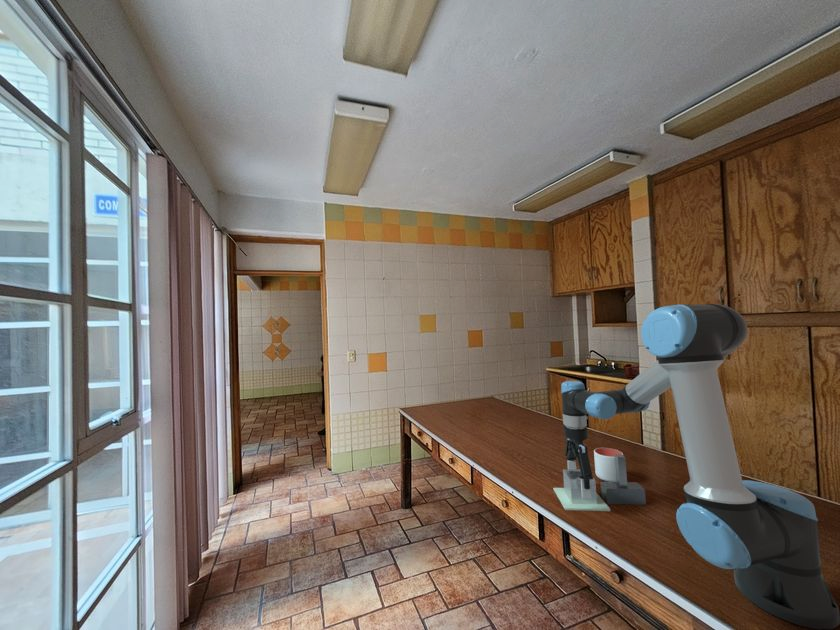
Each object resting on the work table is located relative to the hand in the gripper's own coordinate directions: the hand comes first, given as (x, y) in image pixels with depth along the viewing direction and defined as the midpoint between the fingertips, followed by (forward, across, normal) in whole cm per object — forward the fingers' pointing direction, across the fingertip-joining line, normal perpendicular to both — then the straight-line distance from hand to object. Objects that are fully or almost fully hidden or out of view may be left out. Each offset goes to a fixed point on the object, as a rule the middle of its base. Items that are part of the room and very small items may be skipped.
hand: (579, 488), depth 114 cm
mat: (+4, 0, 0) cm, 4 cm away
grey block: (+4, 0, -14) cm, 15 cm away
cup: (+4, +17, -17) cm, 24 cm away
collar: (+3, 0, 0) cm, 3 cm away
